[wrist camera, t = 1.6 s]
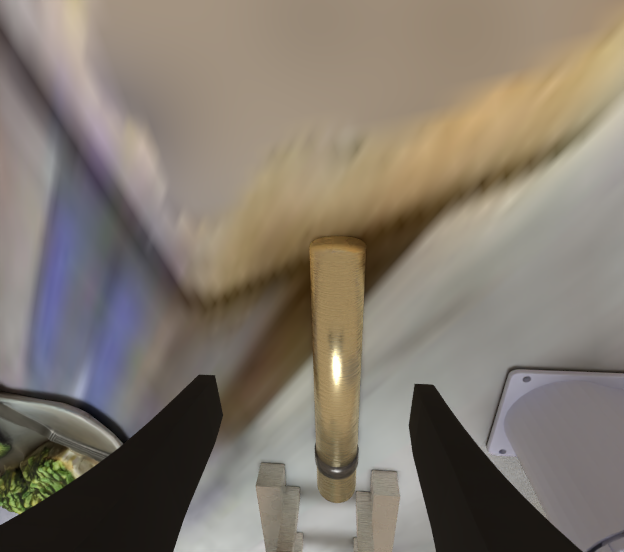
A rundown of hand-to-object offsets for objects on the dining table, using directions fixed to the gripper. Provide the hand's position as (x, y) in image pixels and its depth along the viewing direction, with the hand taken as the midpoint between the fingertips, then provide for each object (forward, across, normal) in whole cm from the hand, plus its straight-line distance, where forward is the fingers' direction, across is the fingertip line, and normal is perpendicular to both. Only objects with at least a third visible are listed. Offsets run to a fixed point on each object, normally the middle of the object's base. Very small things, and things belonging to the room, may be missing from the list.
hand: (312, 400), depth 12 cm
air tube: (+9, 0, +7) cm, 11 cm away
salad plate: (+10, +26, +18) cm, 33 cm away
